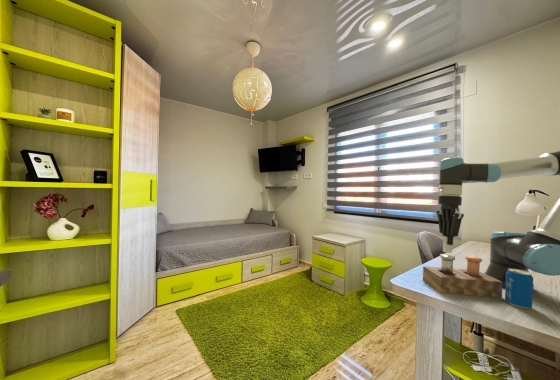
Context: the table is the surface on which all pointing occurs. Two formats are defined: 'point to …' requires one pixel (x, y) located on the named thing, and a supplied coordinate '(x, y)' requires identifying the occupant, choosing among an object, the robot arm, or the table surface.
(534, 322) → the table surface
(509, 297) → the beverage can
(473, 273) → the terracotta plug
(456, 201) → the robot arm
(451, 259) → the grey plug
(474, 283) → the socket block
